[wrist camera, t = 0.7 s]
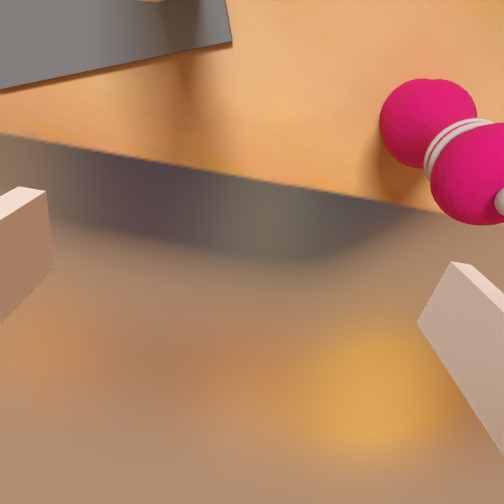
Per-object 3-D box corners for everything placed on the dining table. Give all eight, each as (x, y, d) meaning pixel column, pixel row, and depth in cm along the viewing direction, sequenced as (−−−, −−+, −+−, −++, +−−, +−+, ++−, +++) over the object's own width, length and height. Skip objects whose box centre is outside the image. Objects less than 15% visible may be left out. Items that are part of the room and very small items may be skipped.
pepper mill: (378, 76, 32) (464, 141, 15) (461, 68, 30) (648, 128, 14) (371, 152, 36) (433, 267, 19) (444, 147, 35) (574, 264, 18)
